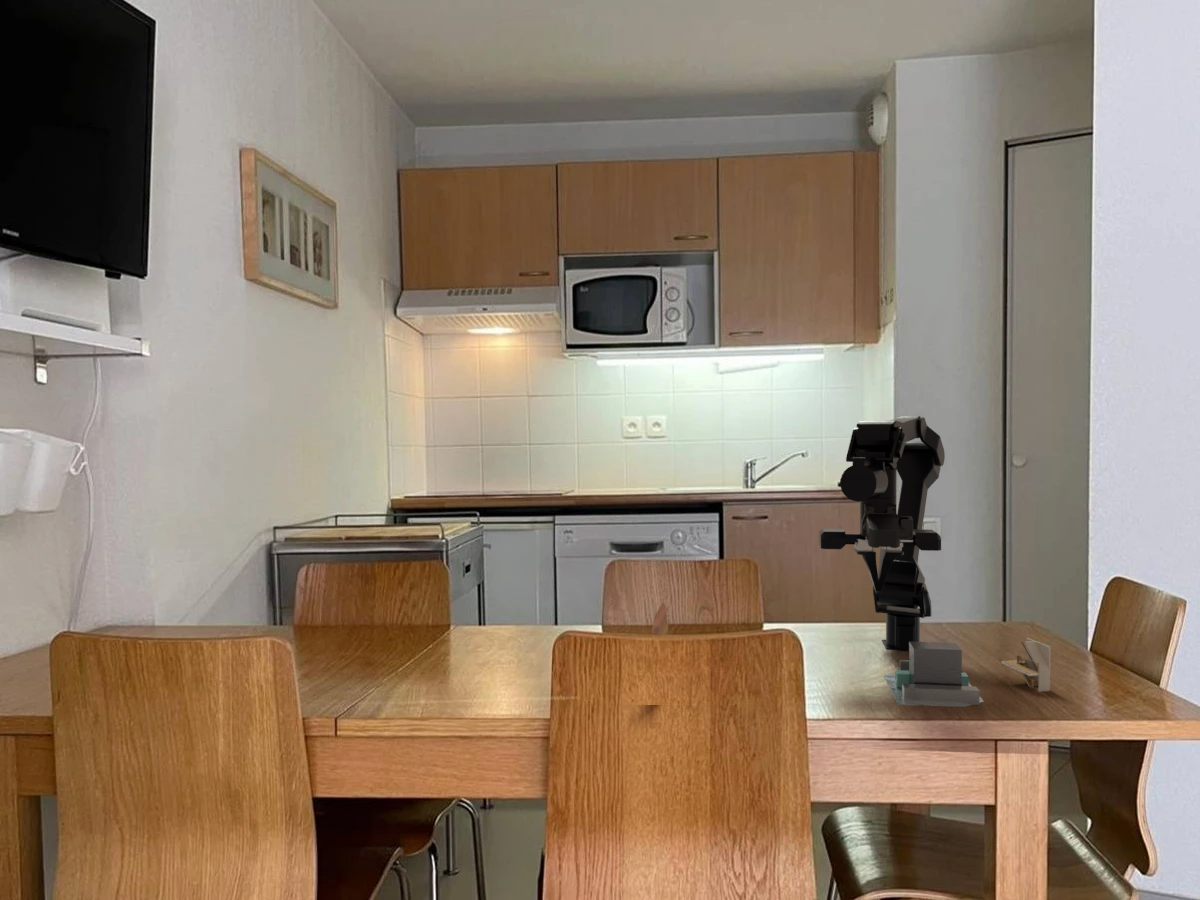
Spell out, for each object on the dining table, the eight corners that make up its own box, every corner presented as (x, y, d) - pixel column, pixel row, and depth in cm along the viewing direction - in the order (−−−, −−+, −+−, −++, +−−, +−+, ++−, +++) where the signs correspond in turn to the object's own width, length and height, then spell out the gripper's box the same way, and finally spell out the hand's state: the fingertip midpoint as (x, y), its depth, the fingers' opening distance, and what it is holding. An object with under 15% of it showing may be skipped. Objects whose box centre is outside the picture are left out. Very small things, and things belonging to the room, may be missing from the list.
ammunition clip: (662, 697, 131) (661, 615, 131) (650, 696, 132) (649, 615, 131) (670, 676, 142) (669, 601, 141) (658, 675, 142) (657, 600, 142)
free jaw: (889, 672, 140) (889, 658, 140) (956, 674, 139) (956, 660, 139) (897, 687, 133) (897, 672, 133) (968, 690, 131) (968, 675, 131)
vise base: (883, 676, 140) (883, 660, 140) (964, 679, 138) (964, 663, 138) (898, 707, 125) (898, 689, 125) (988, 711, 123) (989, 693, 123)
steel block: (909, 688, 132) (909, 641, 132) (955, 690, 131) (955, 642, 131) (913, 696, 128) (913, 648, 128) (961, 698, 127) (961, 649, 127)
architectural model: (1029, 699, 130) (1029, 648, 130) (1001, 685, 137) (1001, 636, 136) (1051, 697, 130) (1051, 647, 130) (1021, 683, 137) (1022, 635, 137)
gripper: (823, 501, 140) (823, 600, 141) (948, 501, 137) (948, 603, 137) (818, 495, 151) (818, 587, 152) (934, 495, 148) (934, 589, 148)
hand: (878, 591), depth 147 cm, fingers closed
